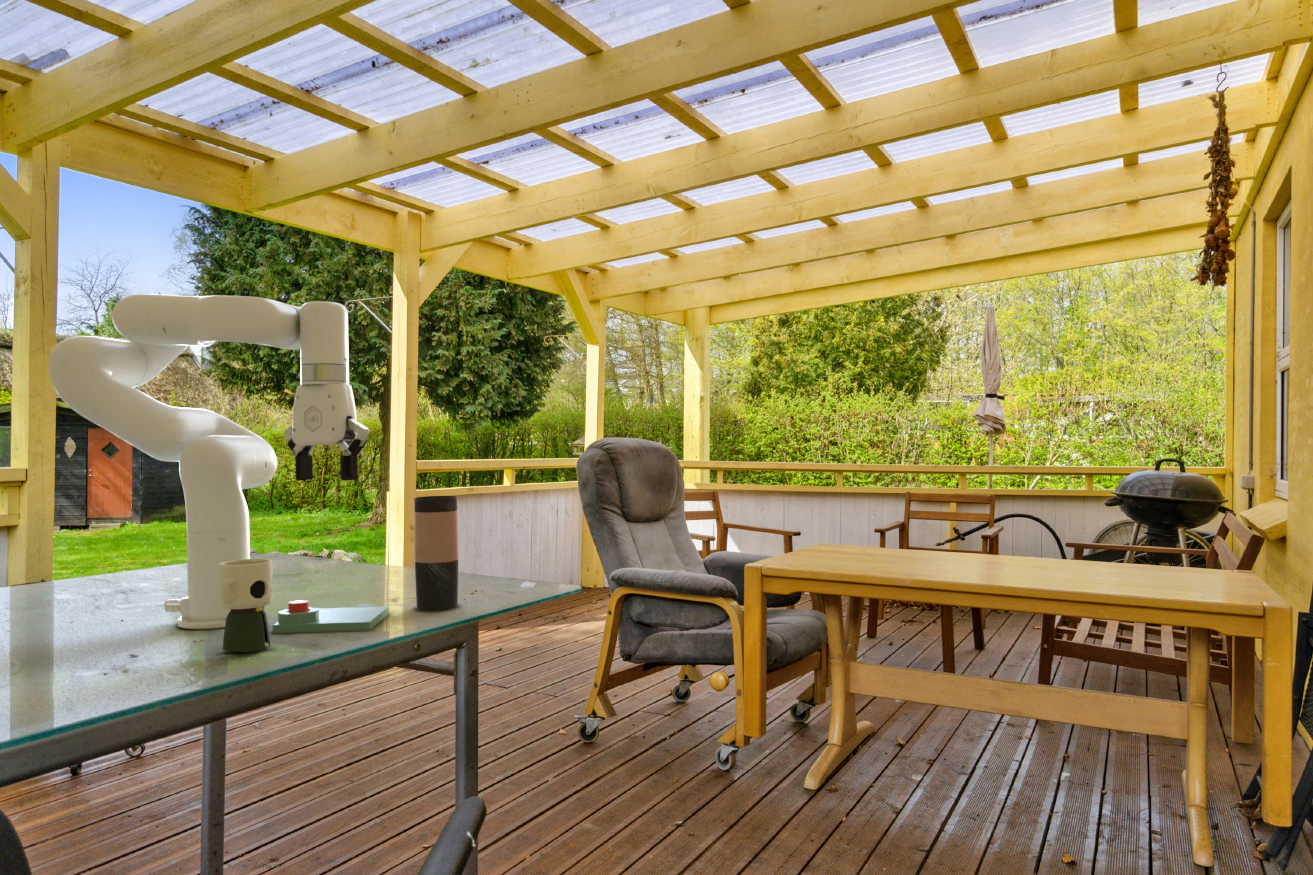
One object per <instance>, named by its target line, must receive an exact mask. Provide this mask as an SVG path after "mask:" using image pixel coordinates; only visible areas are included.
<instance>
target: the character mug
mask: <svg viewBox="0 0 1313 875" xmlns="http://www.w3.org/2000/svg"><path fill="white" fill-rule="evenodd" d="M273 571H274V570H273V560H272V559H268V558H250V559H244V560H234V561H227V562H222V563H220V564H219V604H220V607H221V608H225V609H230V612H229V613H228V615H227V618H226V623H225V627H224V631H223V638H222V640H223V641H222V650H223V651H228V652H238V654H239V655H242V654H244V653H250V652H257V651H262V650H265V649H266V644H268V647H271V639H270V629H269V623H268V617H267V612H266V611H265V607H266V606H268V605H270V604H272V602H273V600H274V593H273V590H272V581H273V580H272V579H273V577H274V573H273Z"/></svg>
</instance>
